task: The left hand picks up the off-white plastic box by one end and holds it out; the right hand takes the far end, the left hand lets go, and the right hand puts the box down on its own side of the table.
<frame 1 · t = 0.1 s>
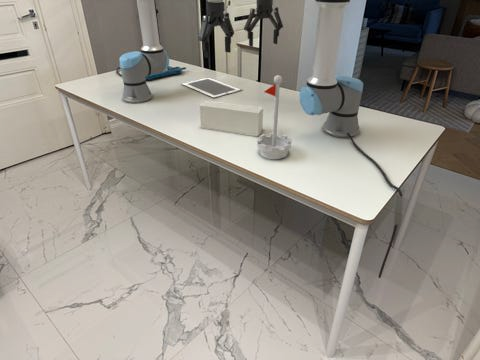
left hand: (217, 54, 151), 28 cm above the table, tool pointing down, fingers open, 13 cm apart
right hand: (263, 45, 167), 28 cm above the table, tool pointing down, fingers open, 13 cm apart
box: (231, 129, 152), on the table
flag stand: (273, 152, 133), on the table
tablet: (211, 87, 201), on the table
submachine gun: (159, 74, 224), on the table
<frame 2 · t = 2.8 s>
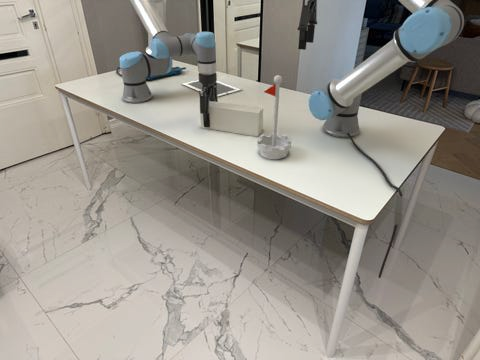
left hand: (210, 123, 154), 1 cm above the table, tool pointing down, fingers closed on box, 7 cm apart
right hand: (306, 45, 131), 36 cm above the table, tool pointing down, fingers open, 13 cm apart
box: (231, 129, 152), on the table, touching left hand
everything else where it was.
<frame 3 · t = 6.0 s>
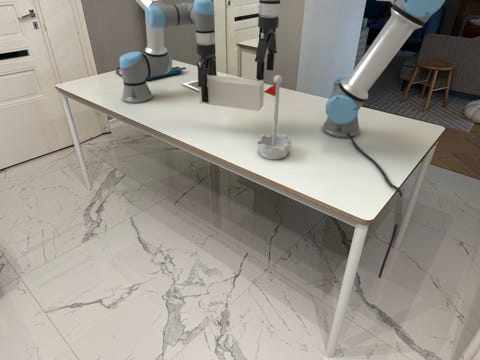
left hand: (208, 99, 148), 13 cm above the table, tool pointing down, fingers closed on box, 7 cm apart
right hand: (265, 74, 135), 25 cm above the table, tool pointing down, fingers open, 13 cm apart
box: (231, 104, 145), point 11 cm above the table, touching left hand
everything else where it was.
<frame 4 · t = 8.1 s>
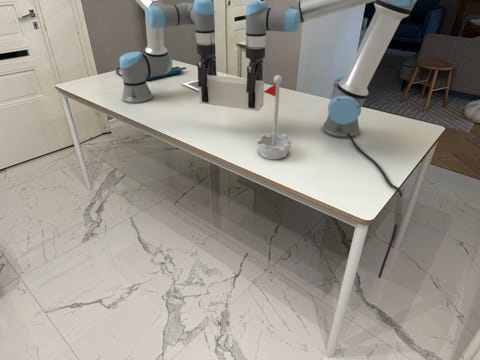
left hand: (208, 99, 148), 13 cm above the table, tool pointing down, fingers closed on box, 7 cm apart
right hand: (254, 104, 142), 13 cm above the table, tool pointing down, fingers closed on box, 7 cm apart
box: (231, 104, 145), point 11 cm above the table, touching right hand, left hand
everything else where it was.
when the left hand's fingers open (13 cm above the table, at t = 9.0 s): box stays where it is, held by the right hand.
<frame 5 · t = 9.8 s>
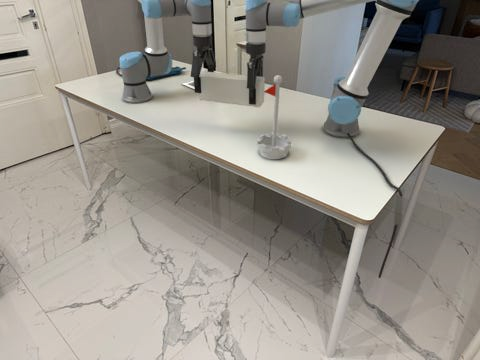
left hand: (204, 87, 146), 17 cm above the table, tool pointing down, fingers open, 13 cm apart
right hand: (255, 101, 141), 14 cm above the table, tool pointing down, fingers closed on box, 7 cm apart
box: (231, 101, 144), point 13 cm above the table, touching right hand
everything else where it was.
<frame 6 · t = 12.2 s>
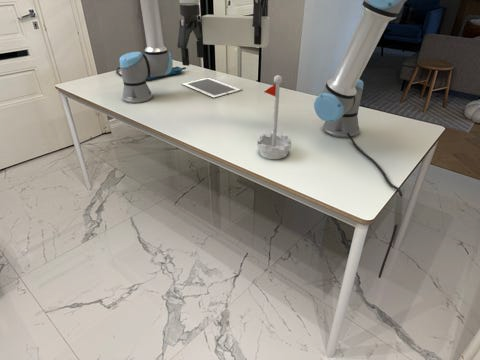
left hand: (193, 61, 141), 28 cm above the table, tool pointing down, fingers open, 13 cm apart
right hand: (260, 42, 139), 35 cm above the table, tool pointing down, fingers closed on box, 7 cm apart
box: (235, 44, 142), point 34 cm above the table, touching right hand, left hand
everything else where it was.
when the right hand's fingers open (3 cm above the table, at t = 17.8 s): box drops 1 cm, on the table.
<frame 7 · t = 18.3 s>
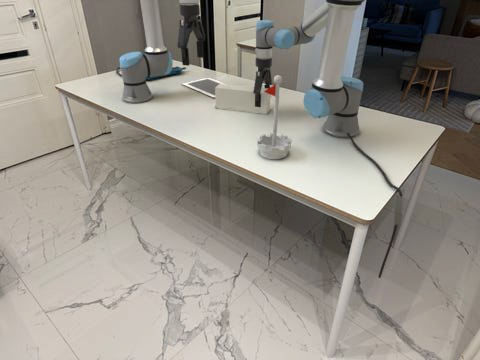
left hand: (193, 61, 141), 28 cm above the table, tool pointing down, fingers open, 13 cm apart
right hand: (262, 102, 167), 5 cm above the table, tool pointing down, fingers open, 13 cm apart
box: (242, 108, 172), on the table
everything else where it was.
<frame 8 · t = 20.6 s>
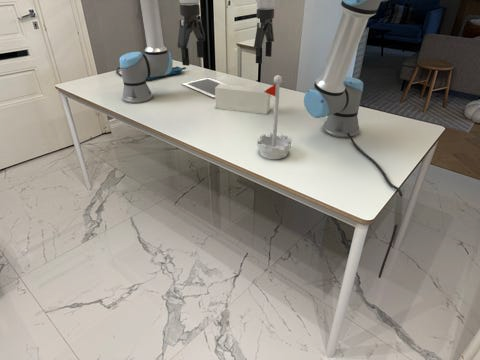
left hand: (193, 61, 141), 28 cm above the table, tool pointing down, fingers open, 13 cm apart
right hand: (263, 59, 156), 25 cm above the table, tool pointing down, fingers open, 13 cm apart
nothing on the table moved.
at the end: box inside the target area (10.1 cm from its centre), on the table; the left hand is holding nothing; the right hand is holding nothing; box at rest at the end (0.0 cm/s) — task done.
